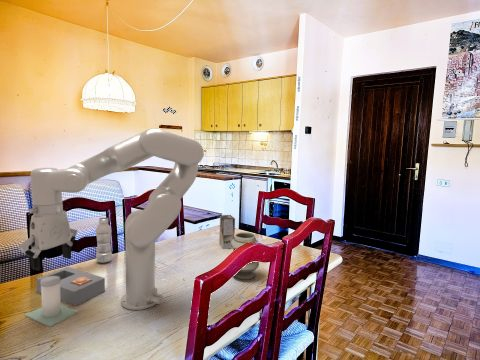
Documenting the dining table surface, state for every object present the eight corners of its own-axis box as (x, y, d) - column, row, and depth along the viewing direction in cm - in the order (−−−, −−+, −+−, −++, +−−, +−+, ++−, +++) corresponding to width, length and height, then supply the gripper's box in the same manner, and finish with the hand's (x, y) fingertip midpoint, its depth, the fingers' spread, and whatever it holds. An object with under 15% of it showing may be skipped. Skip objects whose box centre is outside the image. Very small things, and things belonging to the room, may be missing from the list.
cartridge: (65, 311, 97) (64, 278, 96) (48, 319, 93) (47, 284, 91) (54, 307, 100) (53, 274, 98) (38, 314, 95) (36, 280, 94)
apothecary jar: (224, 272, 132) (226, 232, 130) (249, 268, 137) (251, 229, 135) (237, 284, 121) (239, 240, 119) (263, 279, 127) (265, 237, 124)
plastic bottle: (106, 265, 135) (105, 220, 132) (92, 263, 136) (91, 219, 134) (115, 260, 141) (114, 217, 138) (102, 258, 142) (101, 216, 140)
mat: (77, 312, 98) (77, 311, 98) (50, 327, 90) (50, 325, 90) (53, 302, 103) (53, 301, 103) (24, 316, 95) (24, 314, 95)
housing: (104, 291, 112) (104, 277, 112) (74, 306, 101) (74, 291, 101) (68, 278, 120) (67, 266, 120) (36, 291, 110) (36, 278, 109)
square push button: (91, 292, 110) (90, 277, 109) (80, 298, 106) (80, 282, 105) (82, 290, 111) (82, 275, 111) (72, 295, 108) (71, 279, 107)
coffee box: (234, 248, 163) (235, 218, 161) (222, 249, 161) (223, 219, 159) (229, 242, 171) (230, 214, 170) (218, 243, 170) (219, 215, 168)
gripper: (25, 217, 83) (30, 277, 85) (82, 204, 98) (85, 256, 101) (9, 214, 86) (14, 272, 88) (66, 202, 102) (70, 252, 104)
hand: (52, 263), depth 95 cm, fingers open, 9 cm apart
